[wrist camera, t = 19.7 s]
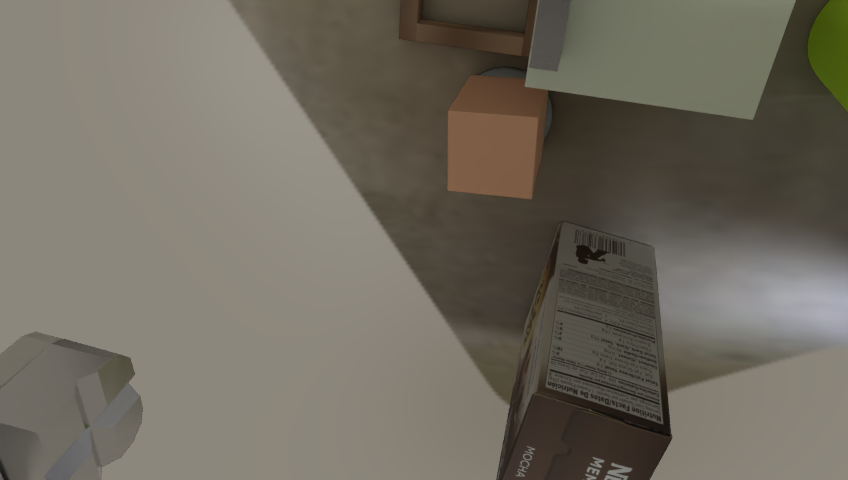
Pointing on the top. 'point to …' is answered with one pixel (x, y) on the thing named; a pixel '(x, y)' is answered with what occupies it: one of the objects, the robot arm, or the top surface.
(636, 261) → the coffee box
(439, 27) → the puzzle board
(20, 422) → the robot arm
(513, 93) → the terracotta block
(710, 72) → the sliding lid
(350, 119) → the top surface
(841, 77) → the soap dispenser
